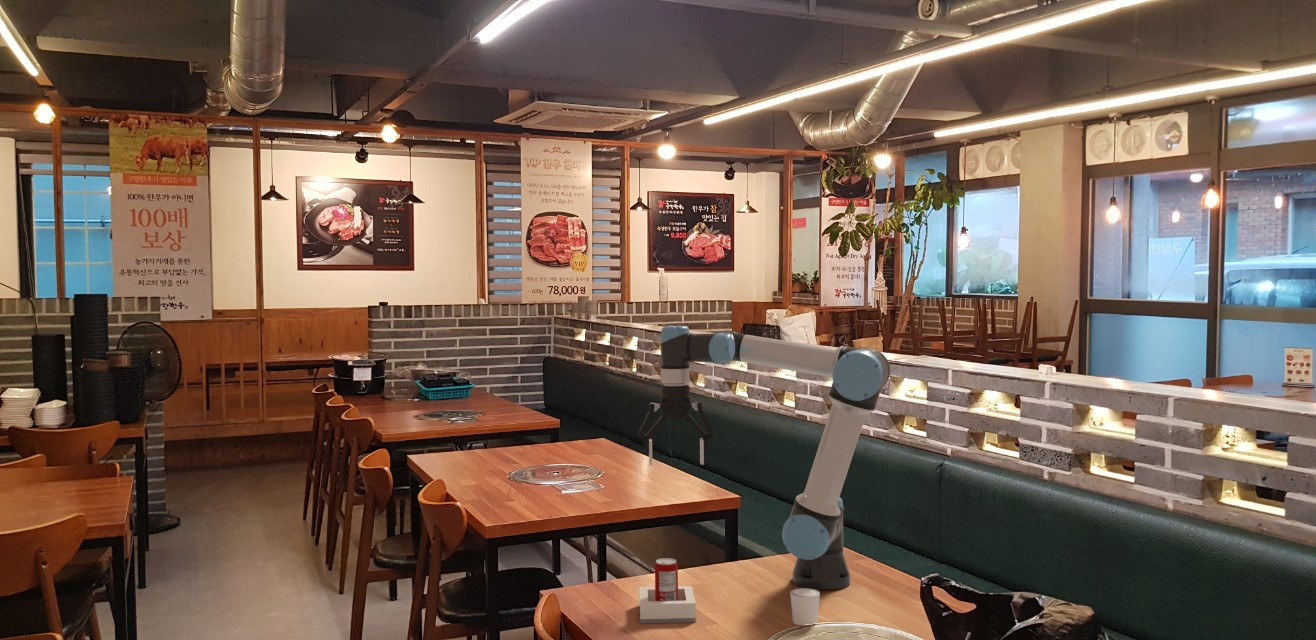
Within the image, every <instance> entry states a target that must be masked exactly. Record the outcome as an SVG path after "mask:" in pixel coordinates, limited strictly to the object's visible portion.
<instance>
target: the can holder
mask: <svg viewBox="0 0 1316 640" xmlns="http://www.w3.org/2000/svg"><path fill="white" fill-rule="evenodd" d="M693 590H694V589H693V586H692V585H678V601H655V586H641V587H639V589H638V591H639V598H638V599H639V603H638V604H639V619H640V620H639V621H640V624H670V623H671V624H673V623H697V621H696V620H697V610H696V609H697V608H696V606H697V605H696V604H697V603H696V599H695V595H694V591H693Z"/></svg>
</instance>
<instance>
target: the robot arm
mask: <svg viewBox="0 0 1316 640" xmlns="http://www.w3.org/2000/svg"><path fill="white" fill-rule="evenodd" d="M659 344H660V362H661V363H660V364H661V365H660V367H661V368H660V378H661V379H660V383H662V384H663V385H661V387H660V389H661V390H660V391H661V392H660V393H661V395H660V396H661V398H660V399H661V401H660V403H654V402H653V401H652V402H650V403H649V410H648V412H647V414H646V416H645V419H644V421H643V422H642V424H641V427H640V429H639V431H638V432H637V433H638V434H637V438H638V439H642V440H644V452H645V453H648V459H649V460H648V464H649V466H653V439H652V437H653V435H654V434H655V433H656V432H657V430H658V429H659V428H660V427H661V426H662V425H663V423H664V422H665V421H667V419H668V420H670V421H673V420H683V419H686V420H687V422H688V423H689V424H690V425H691V426H692V427H693V428H694V429H695V430H696V432H697V433H698V434H699V435H700V436H701V437H702V438H699V463H700V465H702V466H703V465H705V462H704V461H705V457H704V456H705V455H704V452H708V447H709V445H708V444H709V443H708V442H709V441H708V440H709V439H710V438H713V437H715V432H714V431H713V428H712V426H711V424H710V422H709V421H708V419H707V417H706V415H705V413H704V410H703V405H702V403H701V401H697V402H692V403H691V399H690V398H691V393H690V392H691V391H690V384H689V383H690V381H691V380H690V363H716V364H723V363H731V362H732V361H734V362H739V363H740V362H741V363H747V364H752V365H759V366H764V367H772V368H776V369H781V370H787V371H792V372H799V373H805V374H810V375H814V376H815V375H817V376H822V377H828V378H831V379H832V383H831V386H830V389H829V392H828V398H829V400H830V402H831V406H830V410H829V413H828V417H827V420H826V423H825V426H824V429H823V433H822V436H821V438H820V441H819V444H818V448H817V451H816V454H815V457H814V461H813V463H812V466H811V469H810V471H809V472H810V473H809V475H808V479H807V483H806V485H805V488H804V491H803V492H802V493H799V494H798V495H796V497H795V500H794V502H793V505H792V508H791V512H790V515H789V517H788V519H787V520H785V523H784V524H783V527H782V531H781V532H782V533H781V538H782V543H783V544H784V546H785V548H786V550H787V551H788V553H790V554H791V555H792V556H794V557H795V558H796V560H795V563H794V566H793V569H792V583H794V584H795V585H796V586H799V587H800V588H809V589H814V590H817V591H820V590H821V591H822V590H823V591H826V590H828V591H831V590H838V589H842V588H846V587H848V586H849V585H850V584H851V572H850V569H849V566H848V564H847V561H846V557H845V555H844V510H845V507H844V503H843V502H844V501H843V498H841V497H840V496H841V493H842V490H843V487H844V483H845V480H846V478H847V476H848V471H849V469H850V465H851V463H852V459H853V457H854V453H855V450H856V447H857V444H858V440H859V438H860V435H861V431H862V429H863V426H864V422H865V420H866V417H867V415H868V414H870V413H872V412H875V409H876V407H877V403H878V401H879V397H880V394H881V391H882V389H883V388H884V387H885V386H886V384H887V383H888V382H889V379H890V375H891V366H890V361H888V358H887V357H886V356H885V355H884V354H883V352H882V351H879V350H878V349H875V348H874V347H873V348H871V347H853V346H845V345H840V347H837V348H833V347H826V346H821V345H814V344H808V343H801V342H795V341H789V340H782V339H775V338H769V337H763V336H759V335H758V336H756V335H752V334H743V333H740V332H739V333H738V332H735V331H732V330H722V331H720V332H714V333H690V329H689V326H687V325H668V326H663V327H662V328H661V330H660V343H659ZM692 408H693V409H694V411H697V413H698V415H699V416H700V419H701V421H702V423H703V424H704V426H705V429H706V430H707V432H705V431H704V430H703V429H702V428H701V427H700V425H699V424H698V423H697V422H696V420H695V419H694V418H693V417H692V415H690V414H689V412H690V411H691V409H692ZM658 409H660V410H661V412H662V414H661V415H660V417H659V418H658V419H657V421H656V422H655V423H654V424H653V425H652V427H651V428H650V429H649V430H648V432H647V433H646V431H647V428H648V426H649V424H650V422H651V420H652V417H653V416H654V413H655V412H657V410H658ZM645 433H646V434H645Z"/></svg>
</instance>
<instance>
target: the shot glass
mask: <svg viewBox="0 0 1316 640" xmlns="http://www.w3.org/2000/svg"><path fill="white" fill-rule="evenodd" d="M789 593H790V594H789V596H790V604H791V615H792V622H793V624H795V625H797V624H798V625H797V626H801V625H805V624H813V623H818V619H819V607H820V596H821V595H820V594H821V593H820V590H817V589H809V588H805V587H798V588H794V589H792V590H790V591H789Z"/></svg>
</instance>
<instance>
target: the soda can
mask: <svg viewBox="0 0 1316 640" xmlns="http://www.w3.org/2000/svg"><path fill="white" fill-rule="evenodd" d="M678 572H679V567H678V564H677V560H676V559H674V558H670V557H669V558H667V557H665V558H664V557H663V558H658V559H656V561H655V567H654V587H655V601H678V586H679V575H678V574H679V573H678Z"/></svg>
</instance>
